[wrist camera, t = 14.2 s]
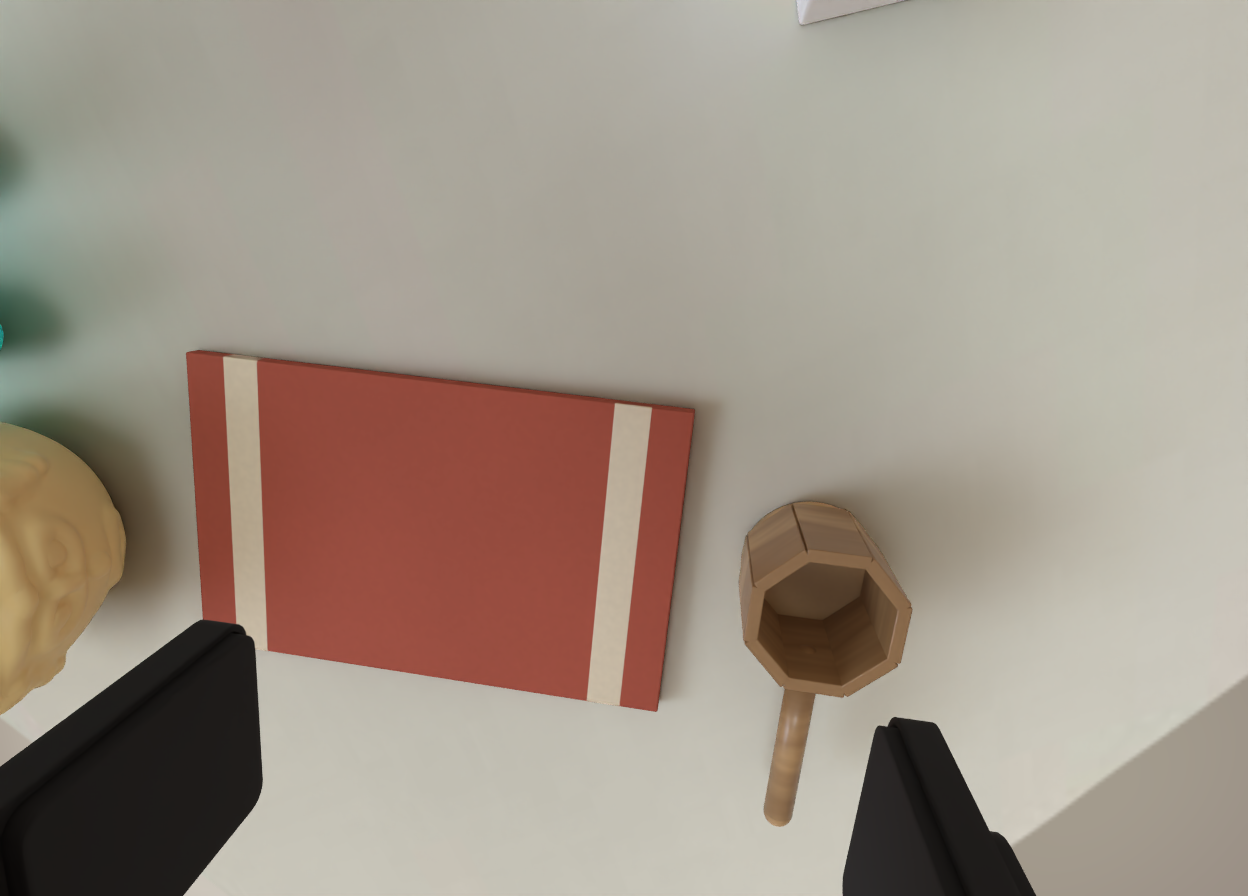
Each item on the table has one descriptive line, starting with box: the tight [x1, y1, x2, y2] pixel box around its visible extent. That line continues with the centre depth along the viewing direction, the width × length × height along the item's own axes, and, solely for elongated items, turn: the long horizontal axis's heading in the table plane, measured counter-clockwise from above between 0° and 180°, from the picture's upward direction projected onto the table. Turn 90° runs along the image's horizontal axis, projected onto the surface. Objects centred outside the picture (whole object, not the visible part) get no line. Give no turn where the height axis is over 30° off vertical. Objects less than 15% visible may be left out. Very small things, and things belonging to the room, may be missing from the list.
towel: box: [186, 350, 695, 712], centre depth 32 cm, size 14×22×1 cm, turn 84°
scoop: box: [739, 502, 912, 827], centre depth 29 cm, size 13×6×6 cm, turn 174°
